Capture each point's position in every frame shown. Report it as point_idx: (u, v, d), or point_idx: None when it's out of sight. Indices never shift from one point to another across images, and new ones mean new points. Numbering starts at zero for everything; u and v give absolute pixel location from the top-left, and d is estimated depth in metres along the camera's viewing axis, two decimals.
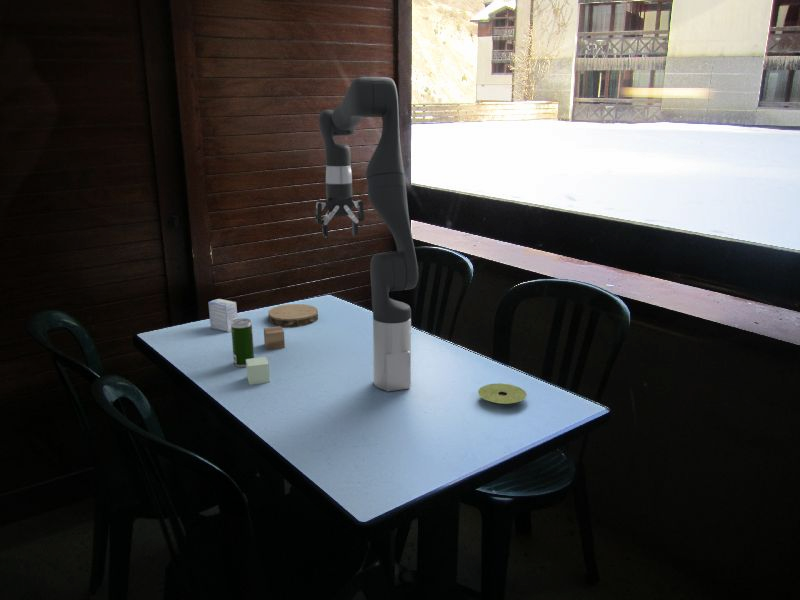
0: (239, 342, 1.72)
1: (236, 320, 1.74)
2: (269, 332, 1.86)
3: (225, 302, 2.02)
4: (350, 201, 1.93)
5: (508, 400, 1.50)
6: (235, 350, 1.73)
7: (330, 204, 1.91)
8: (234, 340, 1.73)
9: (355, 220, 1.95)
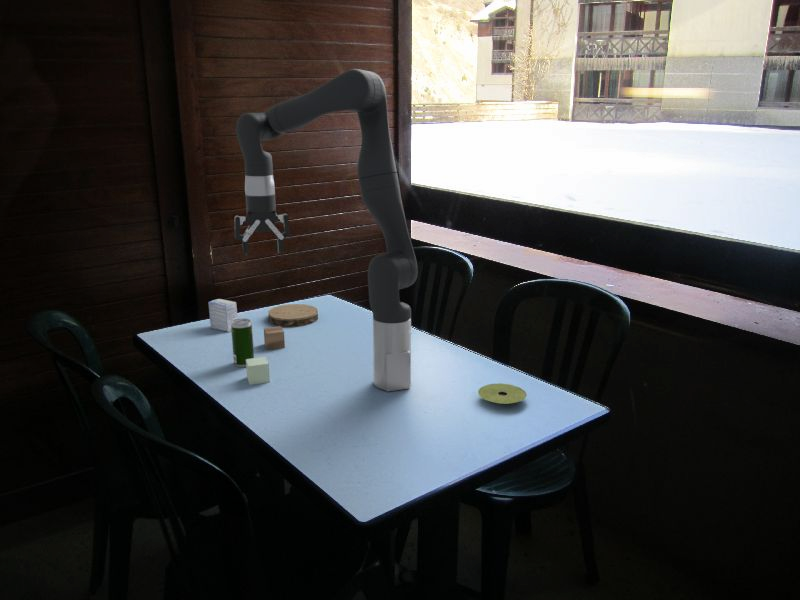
0: (239, 342, 1.72)
1: (236, 320, 1.74)
2: (269, 332, 1.86)
3: (225, 302, 2.02)
4: (273, 215, 1.72)
5: (508, 400, 1.50)
6: (235, 350, 1.73)
7: (250, 218, 1.71)
8: (234, 340, 1.73)
9: (279, 236, 1.74)
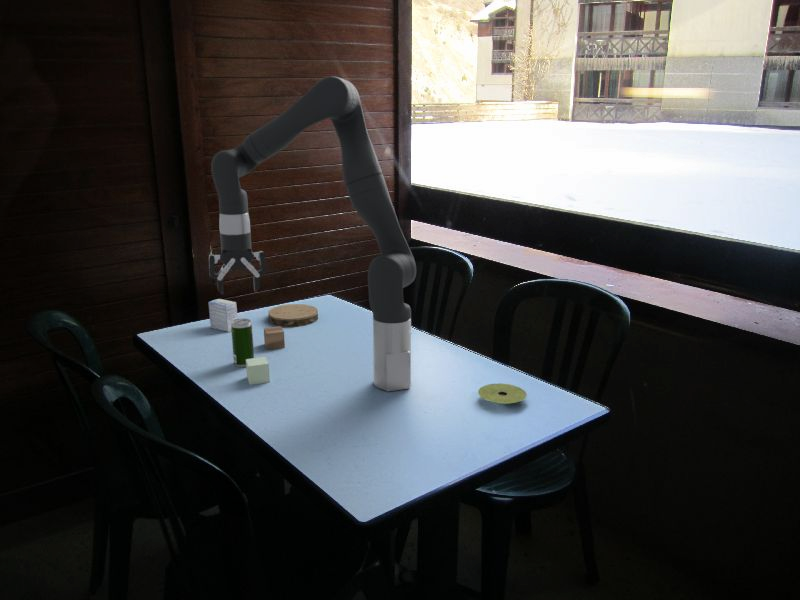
0: (239, 342, 1.72)
1: (236, 320, 1.74)
2: (269, 332, 1.86)
3: (225, 302, 2.02)
4: (249, 253, 1.68)
5: (508, 400, 1.50)
6: (235, 350, 1.73)
7: (225, 257, 1.66)
8: (234, 340, 1.73)
9: (255, 274, 1.70)
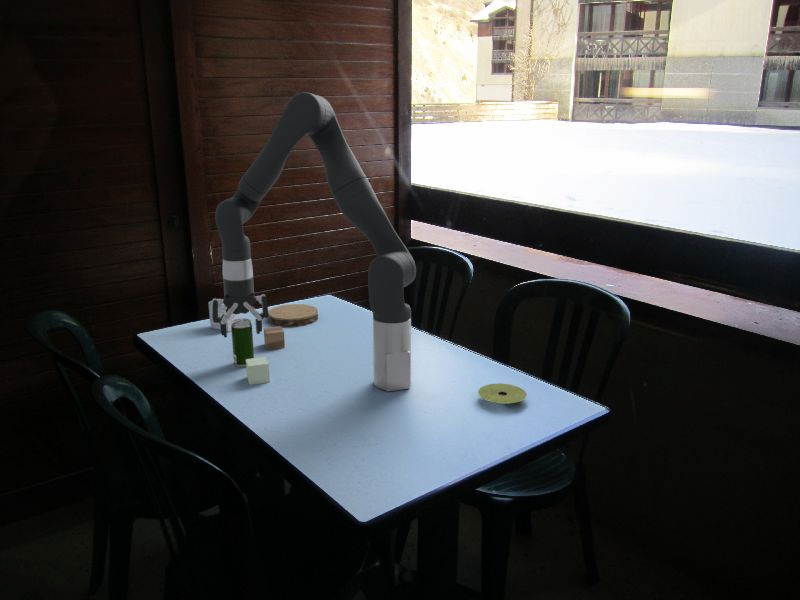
0: (239, 342, 1.72)
1: (236, 320, 1.74)
2: (269, 332, 1.86)
3: None
4: (251, 297, 1.72)
5: (508, 400, 1.50)
6: (235, 350, 1.73)
7: (228, 301, 1.70)
8: (234, 340, 1.73)
9: (258, 317, 1.74)
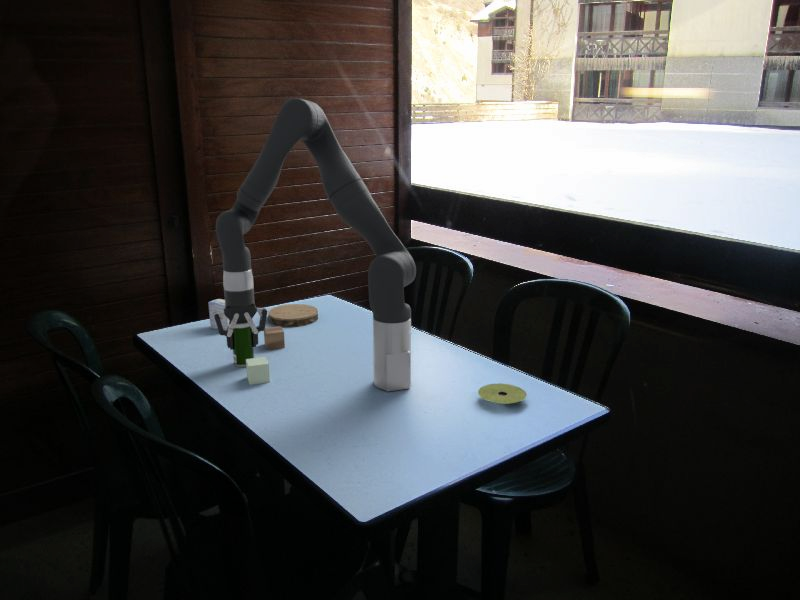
0: (239, 342, 1.72)
1: None
2: (269, 332, 1.86)
3: None
4: (253, 307, 1.72)
5: (508, 400, 1.50)
6: (235, 350, 1.73)
7: (229, 312, 1.71)
8: (234, 340, 1.73)
9: (254, 330, 1.74)
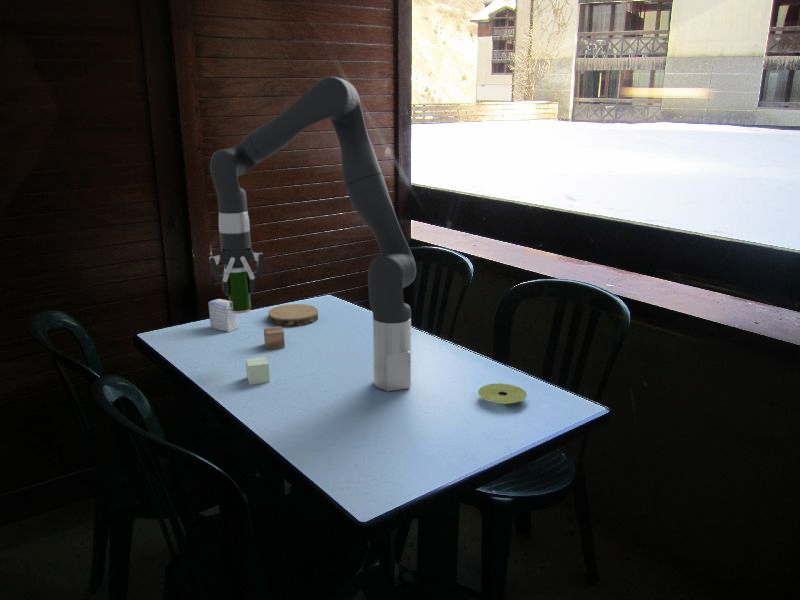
0: (235, 287, 1.68)
1: None
2: (269, 332, 1.86)
3: (225, 302, 2.02)
4: (249, 251, 1.68)
5: (508, 400, 1.50)
6: (231, 296, 1.69)
7: (224, 256, 1.66)
8: (230, 285, 1.68)
9: (250, 276, 1.70)
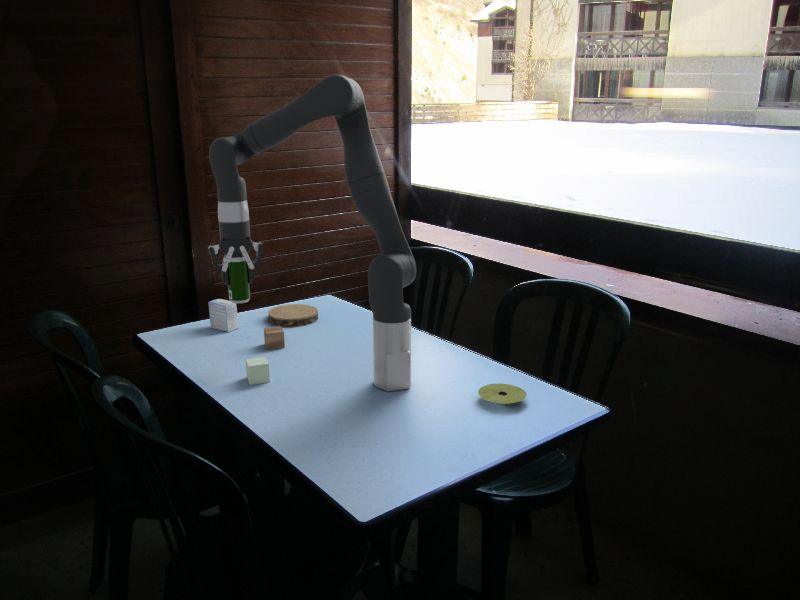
0: (234, 276, 1.67)
1: None
2: (269, 332, 1.86)
3: (225, 302, 2.02)
4: (249, 241, 1.67)
5: (508, 400, 1.50)
6: (230, 285, 1.68)
7: (224, 245, 1.66)
8: (229, 275, 1.68)
9: (250, 266, 1.69)
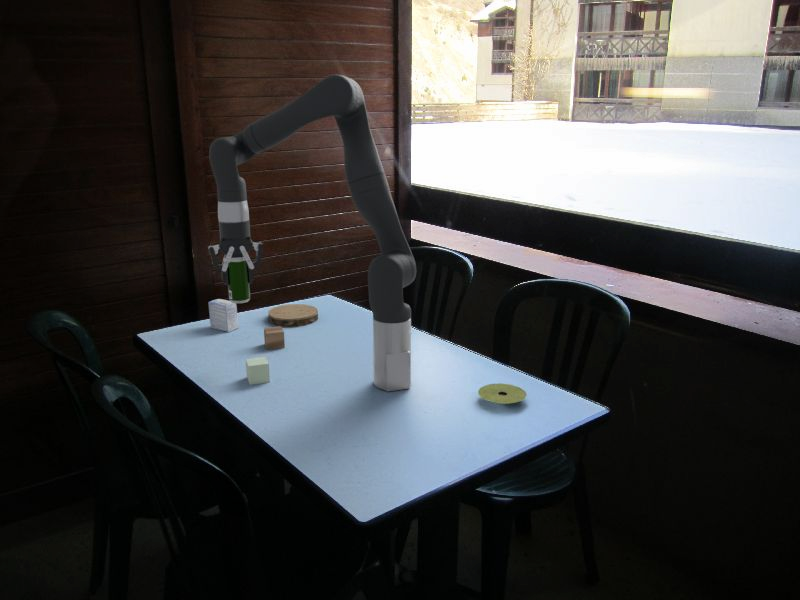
0: (234, 276, 1.67)
1: None
2: (269, 332, 1.86)
3: (225, 302, 2.02)
4: (249, 241, 1.67)
5: (508, 400, 1.50)
6: (230, 285, 1.68)
7: (224, 245, 1.66)
8: (229, 275, 1.68)
9: (250, 266, 1.69)
